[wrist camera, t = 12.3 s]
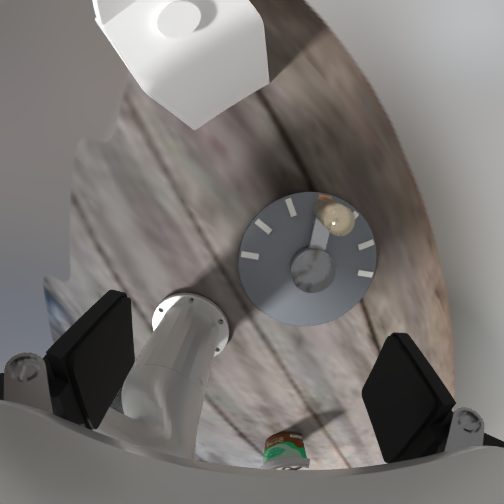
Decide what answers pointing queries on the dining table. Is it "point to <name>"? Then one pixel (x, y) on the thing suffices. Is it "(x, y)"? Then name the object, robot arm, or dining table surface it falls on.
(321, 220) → the lever
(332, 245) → the dial board
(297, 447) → the food container
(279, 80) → the dining table surface
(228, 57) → the milk
